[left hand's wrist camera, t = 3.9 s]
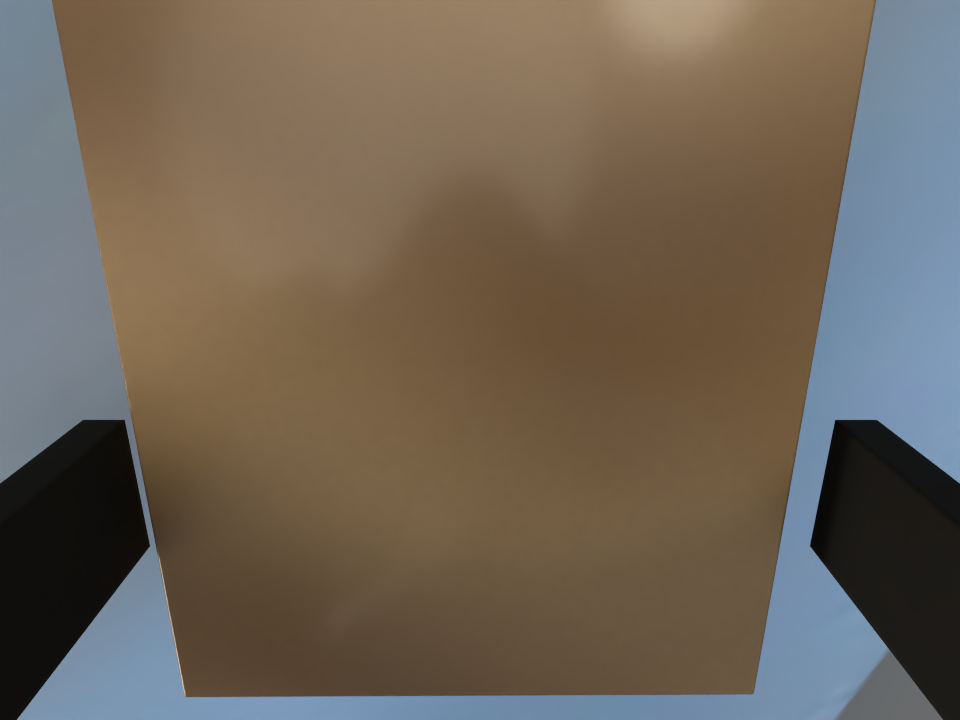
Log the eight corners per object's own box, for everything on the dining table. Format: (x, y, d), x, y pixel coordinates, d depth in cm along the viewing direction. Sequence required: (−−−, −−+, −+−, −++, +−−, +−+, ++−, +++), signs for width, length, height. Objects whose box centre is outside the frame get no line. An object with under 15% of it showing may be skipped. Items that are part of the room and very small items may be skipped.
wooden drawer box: (249, -312, 17) (-162, -1106, 6) (687, -311, 17) (1072, -1095, 6) (317, 435, 24) (183, 697, 13) (627, 434, 24) (754, 695, 13)
